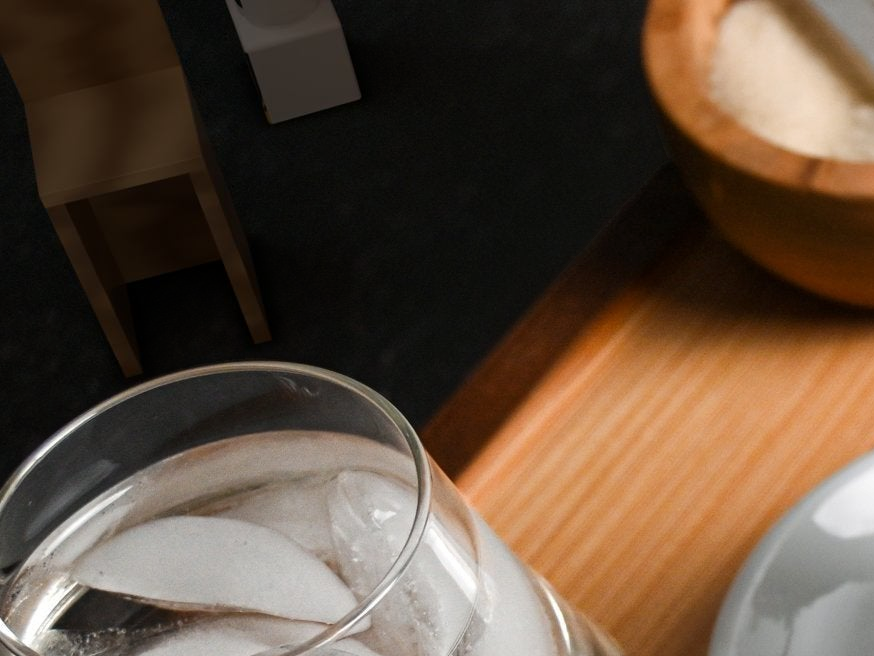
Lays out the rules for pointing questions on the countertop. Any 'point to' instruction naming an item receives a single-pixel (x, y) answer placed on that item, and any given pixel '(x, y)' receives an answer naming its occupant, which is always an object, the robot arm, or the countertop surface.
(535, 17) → the countertop surface
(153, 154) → the wooden chair
